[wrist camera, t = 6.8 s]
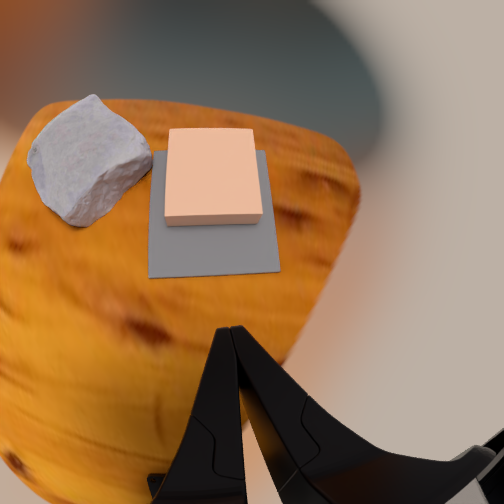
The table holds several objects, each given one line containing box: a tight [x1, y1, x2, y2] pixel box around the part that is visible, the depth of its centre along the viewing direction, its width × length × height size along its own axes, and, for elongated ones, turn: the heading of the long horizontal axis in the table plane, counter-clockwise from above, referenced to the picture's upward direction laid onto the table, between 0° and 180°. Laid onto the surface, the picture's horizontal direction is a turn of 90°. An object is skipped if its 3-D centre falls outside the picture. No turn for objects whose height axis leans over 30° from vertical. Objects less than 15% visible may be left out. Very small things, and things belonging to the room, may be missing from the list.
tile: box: [165, 128, 263, 226], centre depth 21 cm, size 2×7×8 cm
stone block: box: [27, 94, 153, 227], centre depth 20 cm, size 12×5×10 cm
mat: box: [148, 150, 280, 279], centre depth 22 cm, size 11×10×1 cm
